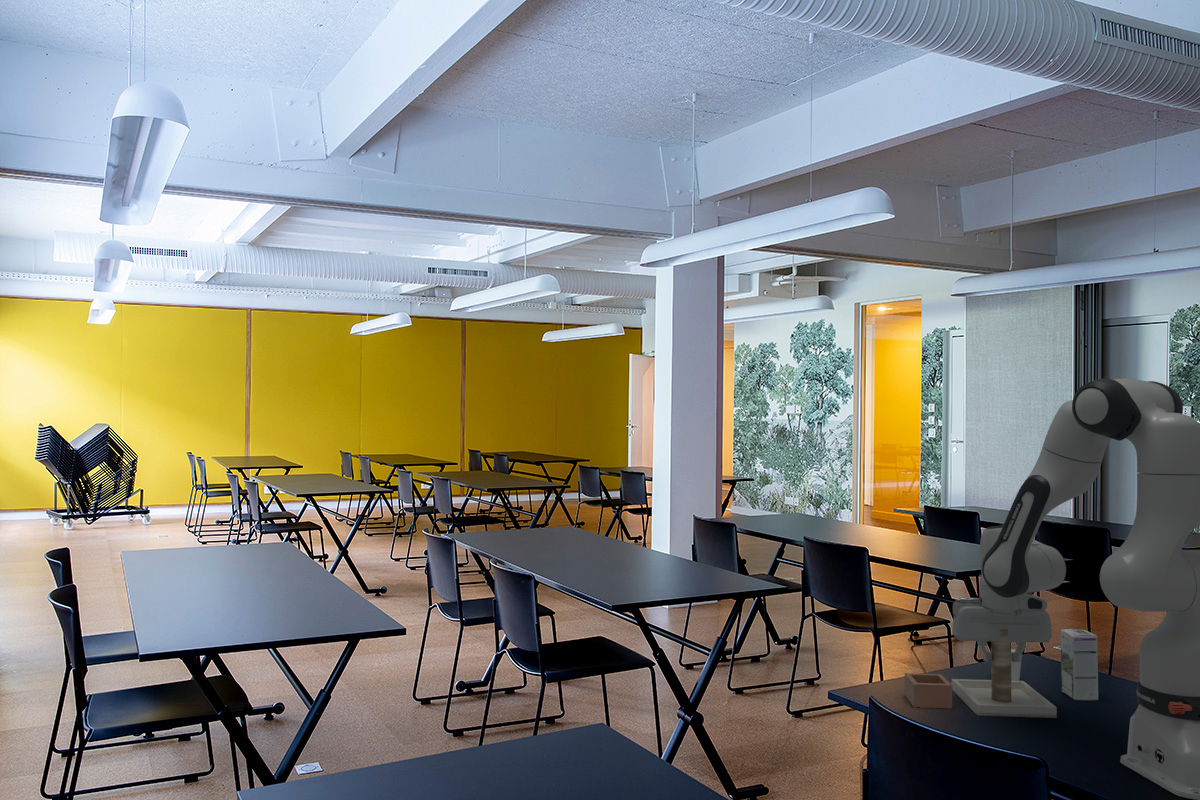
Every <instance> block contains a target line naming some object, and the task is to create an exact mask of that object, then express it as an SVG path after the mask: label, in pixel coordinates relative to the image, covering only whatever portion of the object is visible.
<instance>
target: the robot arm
mask: <svg viewBox="0 0 1200 800" xmlns="http://www.w3.org/2000/svg"><path fill="white" fill-rule="evenodd" d="M1183 412H1184V403H1183V401H1182V398H1181V395H1180V394H1179V393H1178V392H1177V391H1176V390H1175V389H1173V388H1172V387H1171V386H1169V385H1166V384H1165V383H1162V382H1158V381H1153V380H1150V381H1149V380H1148V381H1147V380H1140V379H1136V378H1130V377H1124V378H1123V377H1122V378H1105V377H1104V378H1098V379H1094V380H1090V381H1089V382H1086V383H1085V384H1083V385H1081V386H1080V387H1079V388H1078V389H1077V391H1076V392H1075V394H1074V395H1073V397H1072V399H1070V400H1068V401H1066V402H1064V403H1062V405H1060V406H1059V408H1058V410H1057V412H1056V413H1055V415H1054V417H1053V420H1052V421H1051V423H1050V425H1049V428H1048V430H1047V432H1046V436H1045V437H1044V442H1043V444H1042V448H1041V449H1040V450H1041V451H1040V453H1039V456H1038V457H1037V460H1036V462H1035V465H1034V467H1033V468H1032V470H1031V472H1030V474H1029V475H1028V476H1027V478H1026V479H1025V480H1024V482H1023V483H1022V485H1021V486H1020V488H1019V489H1018V491H1017V493H1016V495H1015V498H1014V500H1013V503H1012V504H1011V506H1010V509H1009V511H1008V513H1007V516H1006V518H1005V521H1004V524H1003V525H996V526H995V525H994V526H988V527H986V528H985V529H983V530H982V533H981V536H980V542H979V554H978V555H979V556H978V557H979V558H978V559H979V560H978V561H979V567H980V572H981V574H980V578H979V597H965V596H964V597H959V599H955V601H953V603H952V615H953V620H952V621H953V622H952V629H951V630H952V635H953V636H954V637H955V638H956V639H957V640H958V641H961V642H977V646H978V648H979V649H980V651H981V652H982V660H983V662H991V661H992V653H991V651H987V649H986V647H987V646H988V642H991V641H1000V639H1001V637H1000V629H1008V641H1009V642H1011V643H1015V645H1017V646H1016V648H1015V649H1016V650H1015V652H1011V661H1013V662H1020V661H1021V662H1022V658H1021V654H1022V655H1023V652H1024V651H1025V649H1026V648H1027V643H1050V641H1051V640H1052V637H1053V632H1052V631H1053V629H1052V622H1051V621H1052V619H1051V616H1050V614H1049V612H1048V611H1046V610H1047V608H1048V602H1047V600H1046V599H1044V598H1043V597H1041V596H1039V595H1036V594H1033V593H1038V592H1042V591H1049V590H1053V589H1057V588H1058V587H1060V586H1061V585H1062V584H1063V583H1064V582H1065V579H1066V577H1067V564H1066V560H1065V558H1064V557H1063V554H1062V553H1061V552H1060V551H1059V550H1058V549H1057V548H1055V547H1053V546H1051V545H1047V544H1046V543H1045V544H1044V543H1042V542H1041V541H1037V540H1036V539H1035V538H1036V536H1037V533H1038V530H1039V528H1040V526H1041V524H1042V522H1043V520H1044V519H1045V518H1046V516H1047V515H1048V514H1049V513H1050V512H1051V511H1053V510H1054V509H1056V508H1057V507H1058V506H1060V505H1063V504H1064V503H1066V502H1069V501H1070V500H1073V499H1075V498H1076V497H1079V496H1082V495H1083V494H1085V493H1086V492H1087V491H1088V490H1090V488H1091V487H1092V485H1093V484H1094V482H1095V480H1096V479H1097V476H1098V475H1099V471H1100V468H1101V465H1102V463H1103V459H1104V455H1105V452H1106V449H1107V446H1108V445H1109V443H1110V441H1111V439H1113V440H1115V441H1123V440H1125V439H1126V440H1128V441H1129V442H1130V443H1131V444H1132V445H1133V447H1134V449H1135V452H1136V453H1135V454H1136V511H1135V515H1134V516H1135V517H1134V520H1133V524H1132V527H1131V529H1130V531H1129V533H1128V535H1127V537H1126V539H1125V540H1124V542H1122V544H1121V546H1120V547H1119V548H1117V550H1115V552H1113V553H1112V554H1111V555H1109V556H1107V557H1106V559H1105V560H1104V561H1103V564H1102V565H1101V568H1100V571H1099V584H1100V587H1101V590H1102V592H1103V595H1105V597H1106V598H1107V600H1109V602H1110V603H1112V604H1113V605H1114V606H1115V607H1119V608H1123V609H1128V610H1133V611H1137V612H1144V613H1145V612H1146V613H1148V612H1150V613H1151V612H1153V613H1155V612H1158V613H1159V612H1166V613H1165V616H1164V618H1163V619H1162V621H1161V622H1160V624H1159V625H1158V626H1157V627H1155V628H1154V629H1152V630H1150V631H1149V632H1148V633H1146V634H1145V635H1144V636H1143V637H1142V638H1141V640H1140V645H1139V680H1138V681H1137V686H1136V690H1135V691H1136V692H1135V693H1136V701H1137V703H1138V706H1137V709H1136V710H1135V711H1134V712H1133V714H1132V715H1131V716H1130V718H1129V725H1128V726H1129V730H1128V740H1127V753H1126V754H1122V755H1120V760H1119V762H1120V763H1121V764H1122V765H1124V766H1125V767H1127V768H1129V769H1130V770H1133V771H1134V772H1136V773H1137V774H1139V775H1140V776H1142V777H1144V778H1146V779H1148V780H1150V781H1151V782H1153V783H1155V784H1156V785H1158V786H1159V787H1161V788H1163V789H1165V790H1166V791H1168V792H1170V793H1172V794H1174V795H1175V796H1178V797H1182V798H1185V799H1192V800H1200V549H1183V546H1184V543H1185V541H1186V539H1187V537H1188V536H1189V535H1190V533H1192V531H1195V529H1198V528H1199V527H1200V423H1199V422H1198V421H1197V420H1196V419H1195V418H1194V417H1192V416H1189V415H1188V414H1183Z"/></svg>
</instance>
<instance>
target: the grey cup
mask: <svg viewBox="0 0 1200 800" xmlns="http://www.w3.org/2000/svg"><path fill="white" fill-rule="evenodd" d="M1016 649H1017V648H1012V647H1011V652H1015V650H1016ZM1022 657H1023V653H1022V654H1021V659H1022ZM1021 667H1022V660H1021V661H1020V662H1013V661H1011V681H1020V676H1021V669H1022V668H1021Z"/></svg>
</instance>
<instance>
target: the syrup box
mask: <svg viewBox="0 0 1200 800" xmlns="http://www.w3.org/2000/svg"><path fill="white" fill-rule="evenodd" d="M1098 649H1099V648H1098V635H1097V634H1095V633H1092V632H1090V631H1088V630H1086V629H1084V628H1083V629H1082V628H1081V629H1080V628H1064V629H1060V658H1061V659H1060V666H1061V670H1060V671H1061V673H1060V674H1061V677H1060V678H1061V679H1060V680H1061V693H1063V694H1065V696H1067V697H1069V698H1070V699H1072V700H1074V701H1099V669H1098V668H1099V663H1098V662H1099V658H1098V657H1099V656H1098V654H1099V652H1098V651H1099V650H1098Z"/></svg>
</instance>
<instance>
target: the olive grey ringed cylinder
mask: <svg viewBox="0 0 1200 800" xmlns="http://www.w3.org/2000/svg"><path fill="white" fill-rule="evenodd" d="M1000 637H1001V639H1000V641H990V642H991V643H990V644H991V645H990V653H992V661H990V665H991V667H990V668H991V675H990V676H991V679H990V680H991V689H992V700H994V701H996V702H1001V703H1009V702H1011V648H1012V642H1009V641H1008V629H1000Z"/></svg>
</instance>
